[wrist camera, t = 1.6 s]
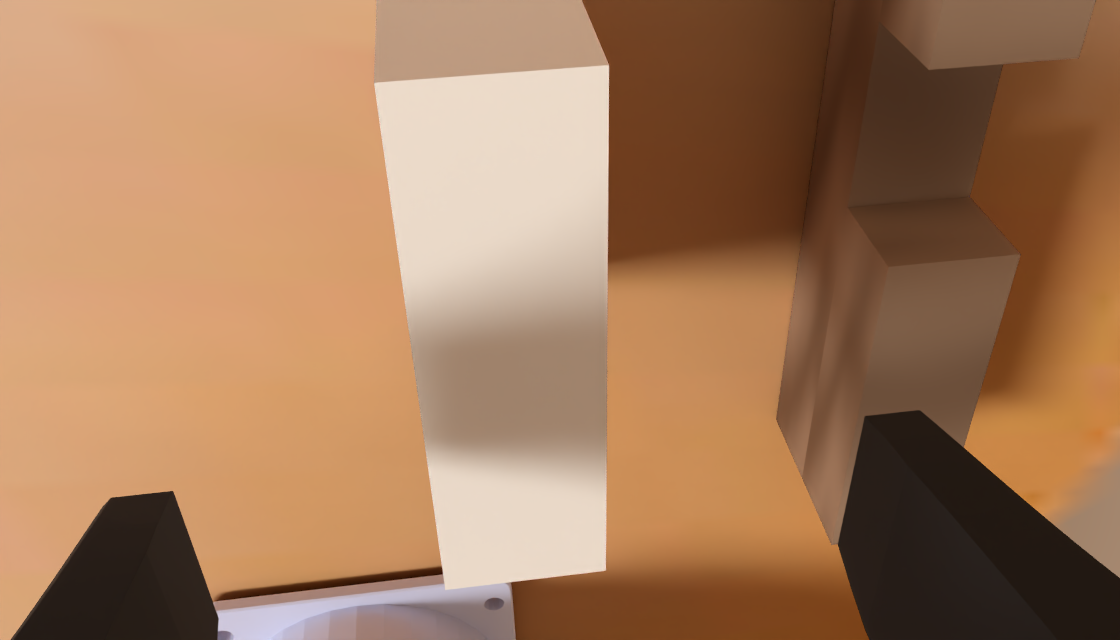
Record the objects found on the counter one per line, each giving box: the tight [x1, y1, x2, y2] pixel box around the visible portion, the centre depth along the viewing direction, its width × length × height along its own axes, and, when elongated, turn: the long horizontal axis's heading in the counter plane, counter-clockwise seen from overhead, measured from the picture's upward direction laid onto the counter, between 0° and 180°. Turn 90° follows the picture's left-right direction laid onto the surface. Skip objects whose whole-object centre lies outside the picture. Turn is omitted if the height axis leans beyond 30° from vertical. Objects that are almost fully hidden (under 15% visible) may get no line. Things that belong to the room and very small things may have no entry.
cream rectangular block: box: [374, 0, 609, 590], centre depth 16 cm, size 8×2×8 cm, turn 1°
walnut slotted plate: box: [776, 0, 1096, 545], centre depth 18 cm, size 18×2×4 cm, turn 1°
